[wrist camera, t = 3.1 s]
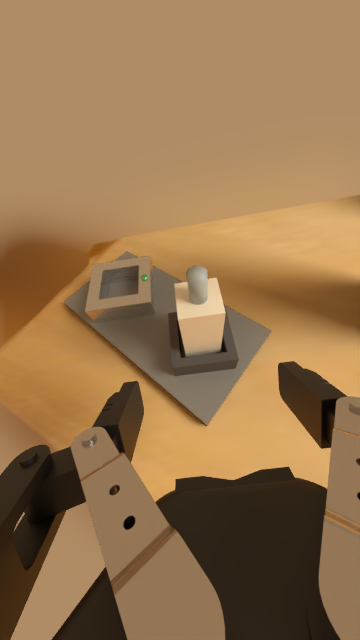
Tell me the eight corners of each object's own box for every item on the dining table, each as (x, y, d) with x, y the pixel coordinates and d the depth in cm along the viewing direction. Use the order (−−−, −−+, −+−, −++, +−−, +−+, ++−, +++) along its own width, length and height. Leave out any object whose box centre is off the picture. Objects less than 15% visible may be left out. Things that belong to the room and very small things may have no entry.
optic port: (101, 277, 35) (92, 263, 33) (153, 269, 35) (149, 254, 32) (94, 322, 31) (84, 310, 28) (155, 314, 30) (150, 301, 28)
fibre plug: (184, 333, 28) (169, 259, 17) (213, 329, 28) (218, 251, 17) (187, 361, 26) (172, 297, 15) (219, 357, 26) (228, 289, 15)
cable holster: (171, 325, 29) (167, 313, 27) (223, 317, 29) (224, 305, 26) (175, 376, 25) (172, 368, 23) (235, 368, 25) (238, 359, 22)
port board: (129, 257, 40) (126, 251, 38) (268, 336, 28) (271, 330, 27) (68, 307, 35) (63, 301, 34) (207, 426, 23) (207, 425, 22)
